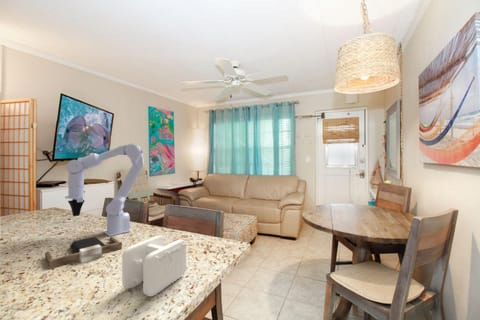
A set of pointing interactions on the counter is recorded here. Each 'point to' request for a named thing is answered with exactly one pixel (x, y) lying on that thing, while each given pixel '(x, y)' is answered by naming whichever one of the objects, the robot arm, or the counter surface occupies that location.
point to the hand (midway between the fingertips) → (76, 215)
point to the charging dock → (84, 254)
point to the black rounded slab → (85, 244)
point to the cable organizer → (153, 264)
